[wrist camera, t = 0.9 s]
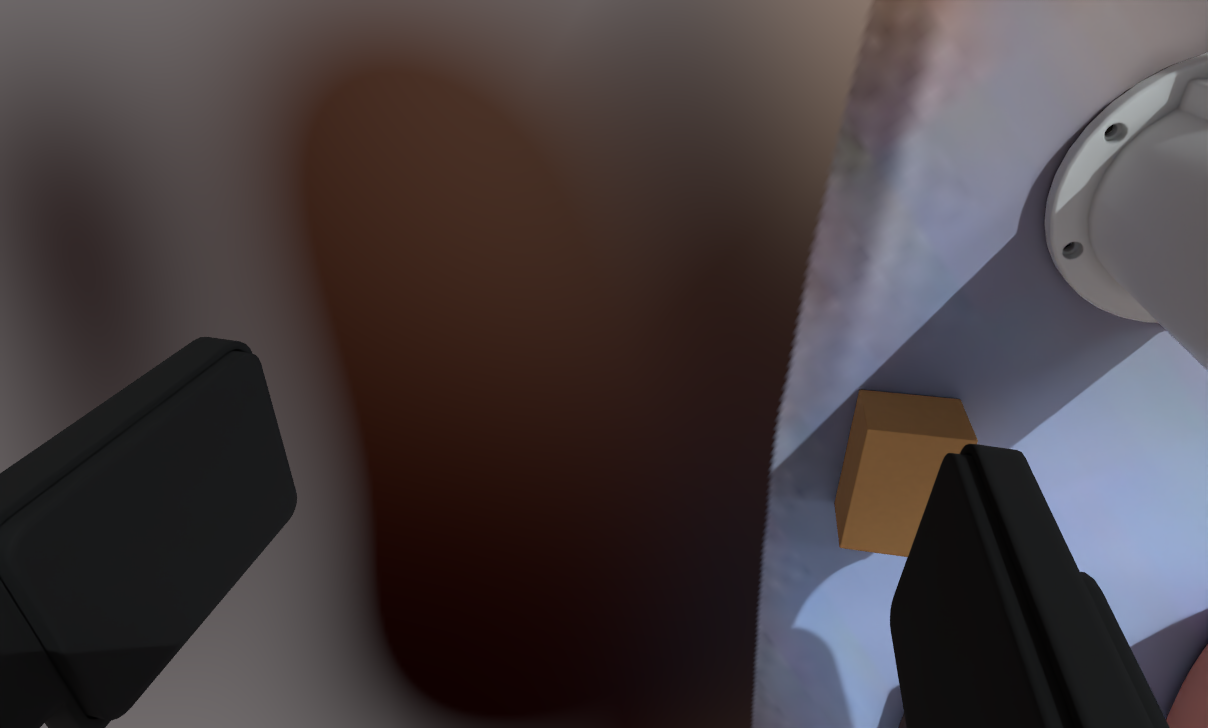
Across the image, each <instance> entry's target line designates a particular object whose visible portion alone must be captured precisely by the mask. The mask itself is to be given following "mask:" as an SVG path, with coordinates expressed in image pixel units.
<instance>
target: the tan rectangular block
mask: <svg viewBox="0 0 1208 728" xmlns="http://www.w3.org/2000/svg"><path fill="white" fill-rule="evenodd" d="M977 442H978V440H977V438H976V435H975V433H974V430H973V428H972V426H971V423H970V421H969V418H968V416H967V414H966V411H965V409H964V407H963V404H962V402H961V400H960V399H953V398H942V397H932V396H922V395H911V394H901V393H891V392H880V391H870V390H859V394H858V398H857V403H856V407H855V412H854V416H853V421H852V425H851V430H850V435H849V439H848V444H847V448H846V453H845V457H844V462H843V467H842V471H841V476H840V480H839V485H838V489H837V494H836V499H835V503H834V504H835V513H836V521H837V529H838V538H839V546H840V548H845V549H852V550H859V551H867V552H874V553H882V554H889V555H896V556H904V557H908V555H909V552H910V550H911V547H912V544H913V541H914V538H915V536H916V533H917V530H918V527H919V524H920V522H921V519H922V516H923V513H924V511H925V508H926V505H927V502H928V499H929V497H930V494H931V491H932V488H933V485H934V483H935V480H936V477H937V474H938V471H939V469H940V466H941V463H942V461H943V459H944V457H945V455H946V454H947V453H955V454H960V452H961V450H962V448H963V447H964V446H965V445H967V444H977Z"/></svg>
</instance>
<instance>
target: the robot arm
mask: <svg viewBox="0 0 1208 728" xmlns="http://www.w3.org/2000/svg"><path fill="white" fill-rule="evenodd" d="M1111 125H1113V129H1112V131H1111V132H1110V133H1108V134H1104V133H1105V131H1106V130H1107V128H1108V127H1110V126H1111ZM1044 225H1045V234H1046V242H1047V247H1048V249H1049V252H1050V255H1051V257H1052V260H1053V263H1054V265H1055V266H1056V268H1057V269H1058V271H1059V272H1060V273H1061V275H1062V276H1063V278H1064V279H1065V280H1066V282H1067V283H1068V284H1069V285H1070V286H1071V287H1072V288H1073V289H1074V290H1075V291H1076V292H1077V293H1078V294H1079V295H1080V296H1081V297H1082V298H1084V299H1085V300H1087V301H1088V302H1090V303H1091V304H1093V305H1094V306H1096V307H1097V308H1099V309H1101V310H1104V311H1106V312H1109V313H1111V314H1114V315H1116V316H1119V317H1121V318H1126V319H1131V320H1136V321H1141V322H1148V323H1159V324H1160V325H1161V326H1162V327H1163V328H1164V329H1165V330H1166V331H1168V332H1169V333H1170V334H1171V335H1172V336H1173V337H1174V338H1175V339H1176V340H1177V341H1178V342H1179V343H1180V344H1181V345H1182V346H1183V347H1184V348H1185V349H1186V350H1187V351H1188V352H1189V353H1190V354H1191V355H1192V356H1193V357H1194V358H1195V359H1196V360H1197V361H1198V362H1199V363H1200V364H1201V365H1202V366H1203V367H1204V368H1205V369H1206V370H1207V371H1208V53H1204V54H1202V55H1199V56H1196V57H1193V58H1190V59H1188V60H1185V61H1182V62H1179V63H1176V64H1174V65H1171V66H1169V67H1168V68H1166V69H1164V70H1162V71H1160V72H1158V73H1156V74H1154V75H1152V76H1150V77H1148V78H1147V79H1145V80H1143V81H1141V82H1139V83H1138V84H1137V85H1135V86H1134V87H1132V88H1131V89H1130V90H1128V91H1127V92H1125V93H1124V94H1123V95H1121V96H1120V97H1118V98H1117V99H1116V100H1114V101H1113V102H1112V103H1111V104H1109V105H1108V106H1107V107H1106V108H1105V109H1104V110H1103V111H1102V112H1101V113H1100V114H1099V115H1098V116H1097V117H1096V118H1095V119H1094V120H1093V121H1092V122H1091V123H1090V124H1088V126H1087V127H1086V128H1085V129H1084V131H1083V132H1082V133H1081V135H1080V136H1079V137H1078V138H1077V140H1076V141H1075V142H1074V144H1073V145H1072V146H1071V147H1070V149H1069V150H1068V152H1067V154H1066V156H1065V157H1064V159H1063V161H1062V163H1061V165H1060V167H1059V168H1058V170H1057V172H1056V174H1055V177H1054V180H1053V183H1052V186H1051V189H1050V192H1049V195H1048V198H1047V203H1046V212H1045V221H1044ZM1071 242H1072V243H1071ZM1069 243H1071V245H1070V246H1069V247H1067V248H1064V247H1065V246H1066V245H1067V244H1069ZM296 503H297V494H296V489H295V486H294V482H293V478H292V475H291V471H290V468H289V464H288V460H287V457H286V453H285V449H284V446H283V442H282V439H281V435H280V431H279V428H278V424H277V420H276V417H275V413H274V409H273V405H272V402H271V398H270V395H269V391H268V387H267V384H266V380H265V376H264V373H263V369H262V365H261V363H260V360H259V358H258V357H257V356H256V355H254V354H252V352H251V350H250V348H249V347H248V346H247V345H246V344H244V343H242V342H239V341H232V340H225V339H218V338H211V337H200V338H198V339H196V340H194V341H192V342H191V343H189V344H188V345H187V346H185V347H184V348H182V349H181V350H179V351H178V352H177V353H175V354H173V355H172V356H171V357H169V358H168V359H166V360H165V361H163V362H162V363H160V364H159V365H157V366H156V367H155V368H153V369H152V370H150V371H149V372H147V373H146V374H144V375H143V376H141V377H140V378H139V379H137V380H136V381H134V382H133V383H131V384H130V385H128V386H127V387H126V388H124V389H123V390H121V391H120V392H118V393H117V394H115V395H114V396H112V397H111V398H109V399H108V400H107V401H105V402H104V403H102V404H101V405H99V406H98V407H96V408H95V409H93V410H92V411H91V412H89V413H88V414H86V415H85V416H83V417H82V418H80V419H79V420H77V421H76V422H75V423H73V424H72V425H70V426H69V427H67V428H66V429H64V430H63V431H61V432H60V433H59V434H57V435H56V436H54V437H53V438H52V439H50V440H48V441H47V442H46V443H44V444H43V445H41V446H40V447H38V448H37V449H35V450H34V451H32V452H31V453H29V454H28V455H27V456H25V457H24V458H22V459H21V460H19V461H18V462H16V463H15V464H13V465H12V466H11V467H9V468H8V469H6V470H5V471H3V472H2V473H0V728H40V727H41V726H42V725H43V724H44V723H45V724H46V725H47V726H48V728H105V727H106V726H107V725H108V723H109V722H110V721H111V720H114V719H117V718H119V717H121V716H122V715H123V714H125V713H126V712H127V711H128V710H129V709H130V708H131V707H132V706H133V705H134V703H135V702H136V701H137V700H138V699H139V697H140V696H141V695H142V694H143V693H144V691H145V690H146V689H147V688H148V687H149V685H150V684H151V683H152V682H153V681H154V680H155V678H156V677H157V676H158V675H159V674H160V672H161V671H162V670H163V669H164V668H165V667H166V665H167V664H168V663H169V662H170V661H171V659H172V658H173V657H174V656H175V655H176V654H177V652H178V651H179V650H180V649H181V648H182V646H183V645H184V644H185V643H186V641H187V640H188V639H189V638H190V637H191V636H192V634H193V633H194V632H195V631H196V630H197V629H198V627H199V626H200V625H201V624H202V623H203V621H204V620H205V619H206V618H207V617H208V615H209V614H210V613H211V612H212V611H213V609H214V608H215V607H216V606H217V605H218V604H219V602H220V601H221V600H222V599H223V598H224V596H225V595H226V594H227V593H228V591H230V589H231V588H232V587H233V586H234V585H235V583H236V582H237V581H238V580H239V579H240V577H241V576H242V575H243V574H244V573H245V572H246V570H247V569H248V568H249V567H250V566H251V564H252V563H253V562H254V561H255V560H256V558H257V557H258V556H259V555H260V554H261V552H262V551H263V550H264V549H265V548H266V547H267V545H268V544H269V543H270V542H271V541H272V539H273V538H274V537H275V536H276V535H277V534H278V532H279V531H280V530H281V529H282V528H283V526H284V525H285V524H286V523H287V522H288V520H289V519H290V518H291V516H292V515H293V512H294V510H295V507H296ZM890 627H891V635H892V641H893V647H894V653H895V659H896V665H897V672H898V678H899V684H900V690H901V696H902V702H903V709H904V715H905V721H906V727H907V728H1170V727H1169V725H1168V723H1167V721H1166V719H1165V717H1164V715H1163V713H1162V711H1161V709H1160V707H1159V705H1158V703H1157V701H1156V699H1155V697H1154V695H1153V693H1152V691H1151V689H1150V687H1149V685H1148V683H1147V681H1146V679H1145V677H1144V675H1143V673H1142V671H1141V669H1140V667H1139V665H1138V663H1137V661H1136V659H1135V657H1134V655H1133V653H1132V651H1131V649H1130V647H1129V645H1128V643H1127V641H1126V639H1125V636H1124V634H1123V632H1122V630H1121V628H1120V626H1119V624H1118V622H1117V620H1116V618H1115V616H1114V614H1113V612H1112V610H1111V608H1110V606H1109V604H1108V602H1107V600H1106V598H1105V596H1104V594H1103V592H1102V590H1101V589H1100V587H1099V586H1098V584H1097V583H1096V581H1095V580H1094V579H1093V578H1092V577H1090V576H1089V575H1088V574H1086V573H1084V572H1079V569H1078V567H1077V565H1076V563H1075V561H1074V559H1073V557H1072V555H1071V553H1070V551H1069V548H1068V546H1067V544H1066V542H1065V540H1064V538H1063V536H1062V534H1061V532H1060V529H1059V527H1058V525H1057V523H1056V521H1055V519H1054V517H1053V515H1052V513H1051V511H1050V508H1049V506H1048V504H1047V502H1046V500H1045V498H1044V496H1043V494H1042V492H1041V490H1040V487H1039V485H1038V483H1037V481H1036V479H1035V477H1034V475H1033V473H1032V471H1031V469H1030V466H1029V464H1028V462H1027V460H1026V458H1025V457H1024V455H1023V454H1022V452H1020V451H1018V450H1013V449H1005V448H998V447H991V446H984V445H977V444H967V445H965V446H964V447H963V448H962V450H961V452H960V454H955V453H947V454H946V455H945V457H944V459H943V461H942V463H941V466H940V469H939V471H938V474H937V477H936V480H935V483H934V485H933V488H932V491H931V494H930V497H929V499H928V502H927V505H926V508H925V511H924V513H923V516H922V519H921V522H920V524H919V527H918V530H917V533H916V536H915V538H914V541H913V544H912V547H911V550H910V552H909V555H908V558H907V561H906V564H905V566H904V569H903V572H902V575H901V578H900V580H899V583H898V586H897V589H896V592H895V594H894V597H893V601H892V605H891V612H890Z"/></svg>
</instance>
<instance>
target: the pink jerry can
mask: <svg viewBox="0 0 1208 728" xmlns="http://www.w3.org/2000/svg"><path fill="white" fill-rule="evenodd" d="M1166 721H1167V723H1168V725H1169V727H1170V728H1208V644H1207V645H1206V647H1205V648H1204V650H1203V651H1202V653H1201V654H1200V656H1199V657H1198V659H1197V660H1196V662H1195V663H1194V665H1193V666H1192V668H1191V670H1190V671H1189V673H1188V675H1187V676H1186V678H1185V680H1184V682H1183V684H1182V686H1181V688H1180V690H1179V692H1178V694H1177V696H1176V699H1175V701H1174V703H1173V705H1172V707H1171V710H1170V712H1169V714H1168V716H1167V719H1166Z"/></svg>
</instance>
